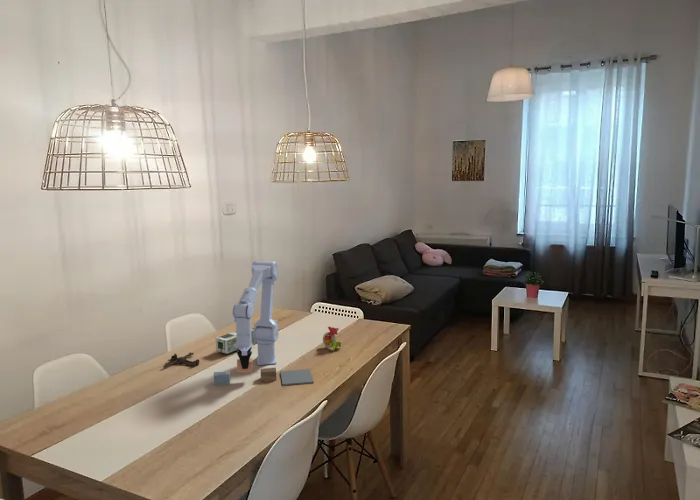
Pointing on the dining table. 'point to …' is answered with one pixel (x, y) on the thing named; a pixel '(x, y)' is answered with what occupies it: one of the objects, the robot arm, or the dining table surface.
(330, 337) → the bird rattle
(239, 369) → the terracotta brick
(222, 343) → the green white framed bar
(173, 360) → the dark action figure
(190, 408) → the dining table surface
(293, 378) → the grey flat square slab
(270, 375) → the walnut brick
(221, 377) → the slate blue brick
